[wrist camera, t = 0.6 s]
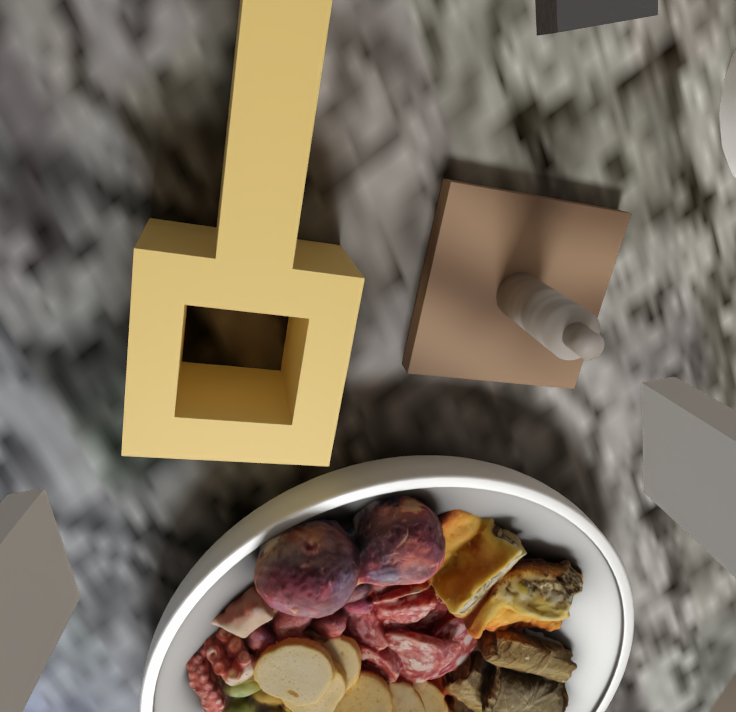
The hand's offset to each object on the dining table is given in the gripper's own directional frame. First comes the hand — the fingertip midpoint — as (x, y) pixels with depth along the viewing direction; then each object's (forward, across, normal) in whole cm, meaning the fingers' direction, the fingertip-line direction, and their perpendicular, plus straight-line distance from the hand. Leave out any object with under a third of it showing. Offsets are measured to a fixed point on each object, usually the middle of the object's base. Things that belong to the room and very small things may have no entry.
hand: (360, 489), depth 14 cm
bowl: (+23, 0, -23) cm, 33 cm away
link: (+19, -3, +5) cm, 20 cm away
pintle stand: (+21, +10, -1) cm, 23 cm away
